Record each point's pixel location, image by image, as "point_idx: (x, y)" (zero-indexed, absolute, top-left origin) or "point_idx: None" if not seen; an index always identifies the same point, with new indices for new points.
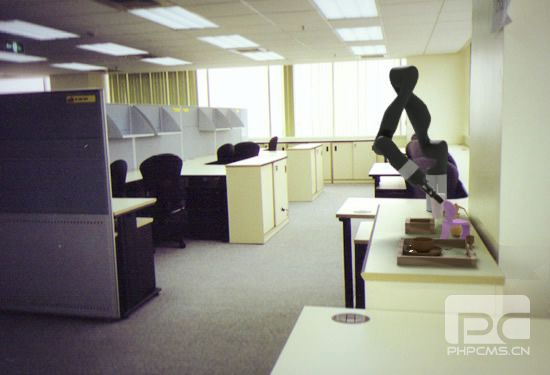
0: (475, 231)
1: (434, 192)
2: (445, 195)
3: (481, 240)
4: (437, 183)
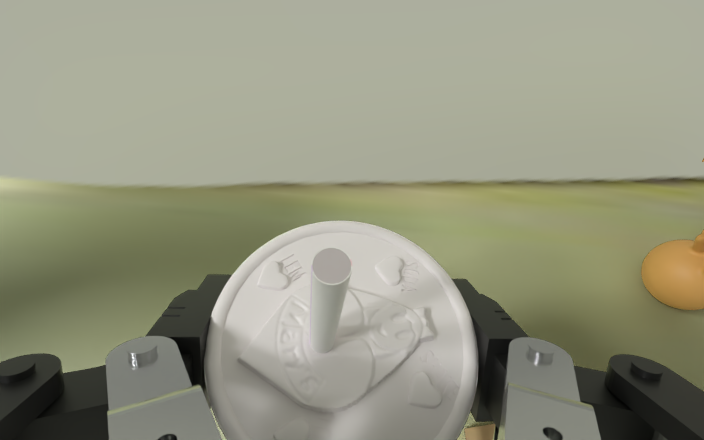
0: (507, 185)
1: (687, 383)
2: (360, 230)
3: (698, 182)
4: (323, 257)
